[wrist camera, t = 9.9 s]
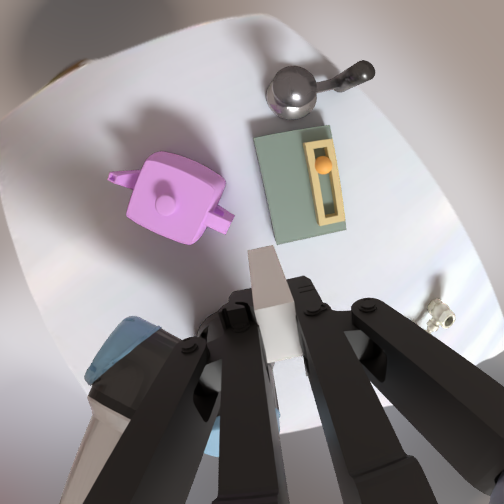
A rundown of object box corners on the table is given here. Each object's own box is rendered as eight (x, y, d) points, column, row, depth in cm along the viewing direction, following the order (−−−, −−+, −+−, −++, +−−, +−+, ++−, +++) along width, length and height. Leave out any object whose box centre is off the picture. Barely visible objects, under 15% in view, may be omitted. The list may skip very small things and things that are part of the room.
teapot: (118, 199, 42) (88, 214, 32) (141, 137, 39) (114, 136, 29) (218, 244, 45) (213, 271, 36) (248, 183, 42) (250, 195, 33)
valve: (430, 292, 51) (399, 338, 54) (447, 308, 45) (412, 356, 48) (446, 301, 52) (416, 343, 56) (462, 316, 46) (429, 361, 49)
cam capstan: (274, 125, 39) (285, 119, 29) (258, 83, 36) (263, 63, 26) (352, 104, 38) (384, 95, 28) (336, 63, 35) (363, 43, 25)
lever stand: (341, 225, 45) (352, 234, 40) (275, 239, 45) (279, 251, 41) (324, 125, 39) (335, 123, 34) (253, 138, 40) (254, 137, 35)
